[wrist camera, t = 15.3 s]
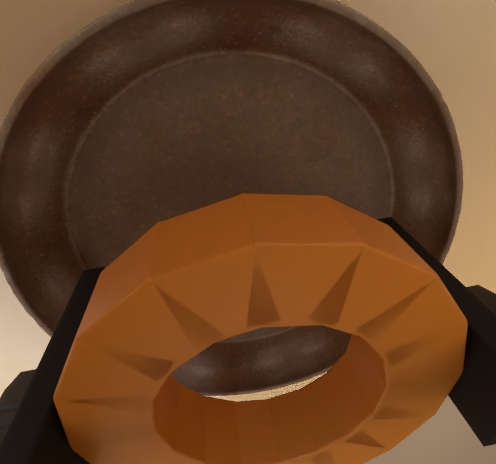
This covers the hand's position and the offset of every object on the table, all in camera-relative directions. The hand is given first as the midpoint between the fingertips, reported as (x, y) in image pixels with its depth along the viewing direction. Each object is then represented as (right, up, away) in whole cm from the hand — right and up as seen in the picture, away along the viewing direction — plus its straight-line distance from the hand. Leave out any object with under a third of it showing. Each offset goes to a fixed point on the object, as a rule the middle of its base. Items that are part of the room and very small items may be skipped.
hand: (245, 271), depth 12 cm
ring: (0, -2, -3) cm, 3 cm away
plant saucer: (-1, +2, +3) cm, 4 cm away
